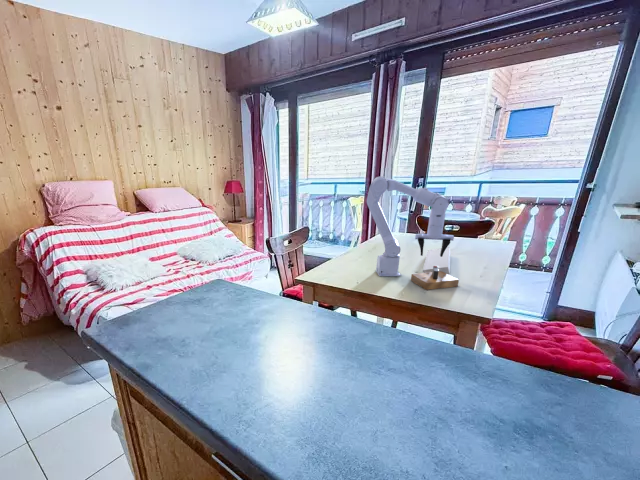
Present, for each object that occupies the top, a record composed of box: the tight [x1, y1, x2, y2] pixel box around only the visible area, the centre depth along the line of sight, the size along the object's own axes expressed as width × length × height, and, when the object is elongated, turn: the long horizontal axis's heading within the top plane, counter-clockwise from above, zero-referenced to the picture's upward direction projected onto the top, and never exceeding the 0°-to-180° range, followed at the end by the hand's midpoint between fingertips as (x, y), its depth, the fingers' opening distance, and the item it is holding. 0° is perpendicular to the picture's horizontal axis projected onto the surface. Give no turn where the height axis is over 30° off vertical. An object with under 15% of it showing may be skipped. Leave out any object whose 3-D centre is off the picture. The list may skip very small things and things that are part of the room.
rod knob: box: [432, 266, 439, 279], centre depth 136 cm, size 6×2×4 cm, turn 156°
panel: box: [410, 271, 460, 291], centre depth 138 cm, size 14×11×3 cm
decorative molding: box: [422, 246, 451, 275], centre depth 159 cm, size 34×5×10 cm
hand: (431, 255), depth 143 cm, fingers open, 7 cm apart
